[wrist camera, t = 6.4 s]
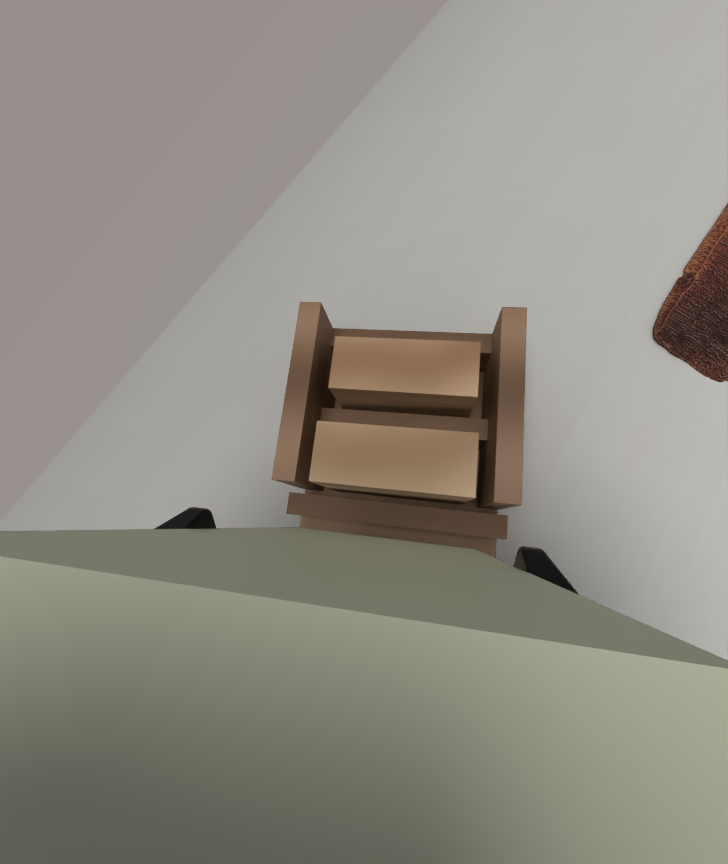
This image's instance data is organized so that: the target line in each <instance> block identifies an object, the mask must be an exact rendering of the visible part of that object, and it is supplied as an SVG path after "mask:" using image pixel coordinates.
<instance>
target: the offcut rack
mask: <svg viewBox="0 0 728 864" xmlns="http://www.w3.org/2000/svg"><path fill="white" fill-rule="evenodd" d="M526 323H527V308H522V307H502V309H501V312H500V315H499V317H498V320H497V323H496V325H495V328H494V331H493V334H476V333H448V332H421V331H393V330H366V329H338V328H332V325H331V323H330V321H329V319H328V317H327V314H326V312H325V310H324V308H323V306H322V303H321V302H300V306H299V312H298V318H297V325H296V331H295V337H294V343H293V349H292V356H291V362H290V368H289V374H288V381H287V387H286V393H285V399H284V405H283V412H282V418H281V424H280V430H279V437H278V443H277V449H276V455H275V461H274V468H273V474H272V480H276V481H279V482H282V483H286V484H289V485H292V486H296V487H299V488H303V489H305V494H301V493H291V492H290V493H289V500H288V506H287V513H286V514H295V515H302V517H301V524H300V528H306V529H314V530H322V531H330V532H338V533H346V534H355V535H363V536H371V537H379V538H387V539H395V540H404V541H412V542H420V543H428V544H436V545H445V546H453V547H461V548H469V549H476V550H478V551H481V552H483V553H485V554H487V555H490V556H492V557H494V558H495V554H496V538H500V539H507V516H505V515H497V510H498V509H503V508H508V507H514V506H519V505H521V501H522V465H523V430H524V394H525V359H526ZM335 336H343V337H368V338H393V339H419V340H444V341H469V342H481V347H480V366H479V384H478V398H477V400H476V402H475V404H474V407H473V409H472V411H471V414H470V416H469V418H463V417H449V416H434V415H420V414H406V413H392V412H377V411H363V410H349V409H343V408H342V407H341V405H340V404H339V403H338V401H337V400H336V398H335V397H334V395H333V394H332V392H331V391H330V390H329V388H328V385H329V378H330V371H331V364H332V356H333V349H334V342H335ZM317 421H328V422H341V423H355V424H368V425H381V426H394V427H407V428H421V429H434V430H447V431H460V432H473V433H479V443H478V462H477V481H476V498H474V499H472V500H470V501H468V502H466V503H464V504H462V505H459V504H449V503H440V502H430V501H421V500H411V499H402V498H392V497H383V496H373V495H364V494H354V493H345V492H337V491H334V490H331V489H329V488H326V487H323V486H321V485H318V484H315V483H313V482H310V481H309V475H310V468H311V460H312V453H313V446H314V439H315V432H316V425H317Z"/></svg>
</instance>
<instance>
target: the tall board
mask: <svg viewBox="0 0 728 864" xmlns="http://www.w3.org/2000/svg"><path fill="white" fill-rule="evenodd" d="M0 864H728V660H725V659H723V658H721V657H718V656H716V655H714V654H712V653H709V652H707V651H705V650H703V649H700V648H698V647H696V646H694V645H691V644H689V643H687V642H684V641H682V640H680V639H678V638H675V637H673V636H671V635H669V634H666V633H664V632H662V631H660V630H657V629H655V628H653V627H650V626H648V625H646V624H644V623H641V622H639V621H637V620H635V619H632V618H630V617H628V616H626V615H623V614H621V613H619V612H616V611H614V610H612V609H610V608H607V607H605V606H603V605H601V604H598V603H596V602H594V601H592V600H589V599H587V598H585V597H582V596H580V595H578V594H576V593H573V592H571V591H569V590H567V589H564V588H562V587H560V586H558V585H555V584H553V583H551V582H549V581H546V580H544V579H542V578H539V577H537V576H535V575H533V574H530V573H527V572H525V571H523V570H520V569H518V568H516V567H514V566H512V565H510V564H508V563H505V562H503V561H501V560H499V559H496V558H494V557H492V556H490V555H487V554H485V553H483V552H481V551H478V550H476V549H469V548H461V547H453V546H445V545H436V544H428V543H420V542H412V541H404V540H395V539H387V538H379V537H371V536H363V535H355V534H346V533H338V532H330V531H322V530H314V529H306V528H297V527H288V528H216V529H134V530H56V531H0Z"/></svg>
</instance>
